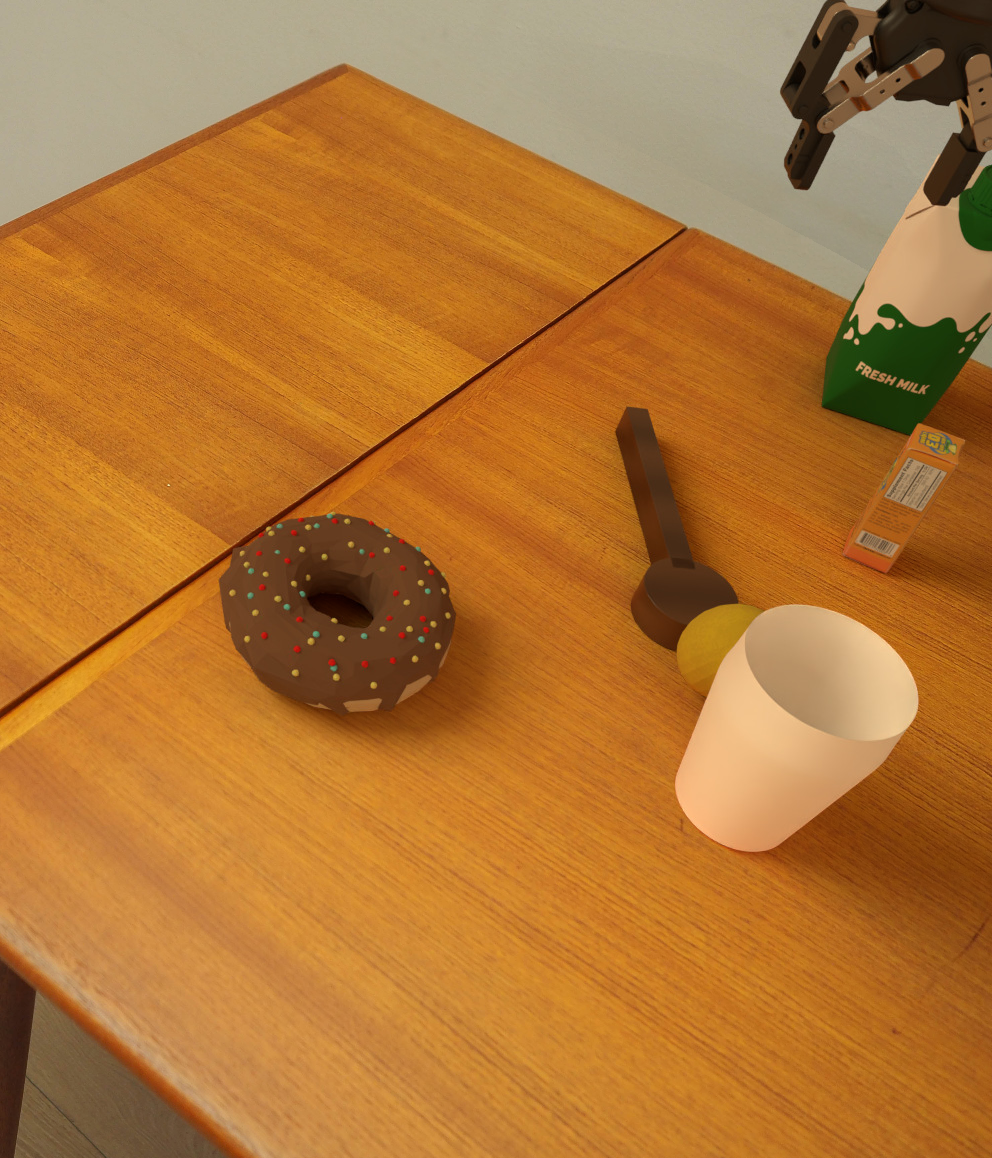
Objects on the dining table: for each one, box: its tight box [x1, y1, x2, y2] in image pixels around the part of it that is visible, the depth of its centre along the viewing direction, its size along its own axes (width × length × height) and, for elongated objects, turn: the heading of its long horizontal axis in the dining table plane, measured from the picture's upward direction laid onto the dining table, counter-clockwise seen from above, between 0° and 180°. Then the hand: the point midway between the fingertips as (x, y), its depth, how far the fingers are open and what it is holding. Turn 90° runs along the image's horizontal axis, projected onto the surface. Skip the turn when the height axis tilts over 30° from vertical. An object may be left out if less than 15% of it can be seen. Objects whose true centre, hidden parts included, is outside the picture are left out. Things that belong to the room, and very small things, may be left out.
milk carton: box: [821, 153, 992, 437], centre depth 96 cm, size 9×9×20 cm
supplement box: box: [841, 423, 966, 574], centre depth 87 cm, size 3×3×10 cm
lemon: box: [675, 603, 766, 698], centre depth 76 cm, size 6×6×8 cm
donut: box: [218, 511, 457, 717], centre depth 77 cm, size 14×14×5 cm
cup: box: [674, 603, 919, 853], centre depth 70 cm, size 9×9×12 cm
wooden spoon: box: [614, 406, 740, 652], centre depth 88 cm, size 21×6×2 cm, turn 178°
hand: (865, 191), depth 78 cm, fingers open, 8 cm apart
